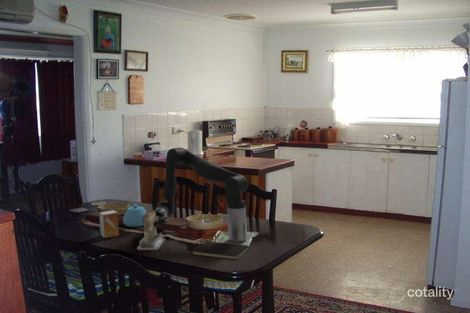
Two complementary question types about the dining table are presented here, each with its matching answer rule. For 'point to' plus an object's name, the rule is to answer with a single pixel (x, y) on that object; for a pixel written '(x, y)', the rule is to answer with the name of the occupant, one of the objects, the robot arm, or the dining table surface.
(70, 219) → the dining table surface
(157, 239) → the grey plastic bag
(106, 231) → the small box
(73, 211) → the dining table surface
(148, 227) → the beige mottled box
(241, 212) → the robot arm
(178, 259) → the dining table surface
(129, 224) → the sugar bowl
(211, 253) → the hardcover book
